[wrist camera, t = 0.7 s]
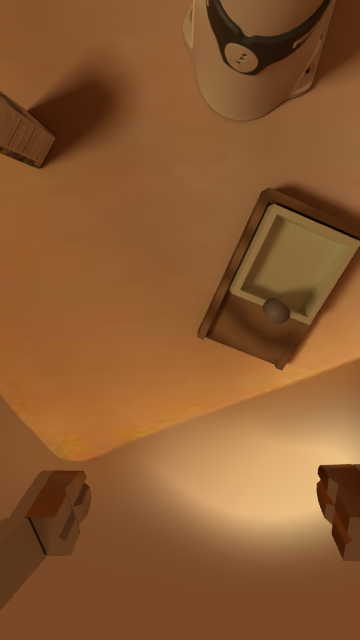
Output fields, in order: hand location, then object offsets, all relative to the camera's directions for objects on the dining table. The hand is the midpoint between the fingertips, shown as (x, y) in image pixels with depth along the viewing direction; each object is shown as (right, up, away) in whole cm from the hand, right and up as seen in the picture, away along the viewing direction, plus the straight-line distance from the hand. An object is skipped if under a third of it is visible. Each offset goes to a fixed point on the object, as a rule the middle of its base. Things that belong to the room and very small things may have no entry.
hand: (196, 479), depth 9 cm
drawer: (+17, +14, +33) cm, 40 cm away
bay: (+16, +11, +36) cm, 41 cm away
